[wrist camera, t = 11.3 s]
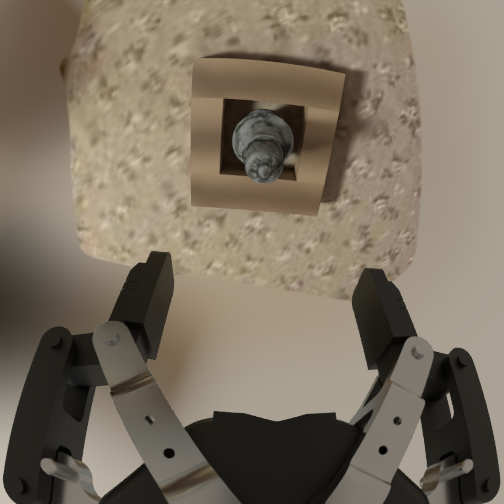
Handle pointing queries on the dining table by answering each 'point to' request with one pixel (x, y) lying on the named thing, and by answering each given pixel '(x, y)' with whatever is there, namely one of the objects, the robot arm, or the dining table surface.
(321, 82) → the tan picture frame
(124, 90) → the dining table surface
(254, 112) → the grey tall tiered piece
